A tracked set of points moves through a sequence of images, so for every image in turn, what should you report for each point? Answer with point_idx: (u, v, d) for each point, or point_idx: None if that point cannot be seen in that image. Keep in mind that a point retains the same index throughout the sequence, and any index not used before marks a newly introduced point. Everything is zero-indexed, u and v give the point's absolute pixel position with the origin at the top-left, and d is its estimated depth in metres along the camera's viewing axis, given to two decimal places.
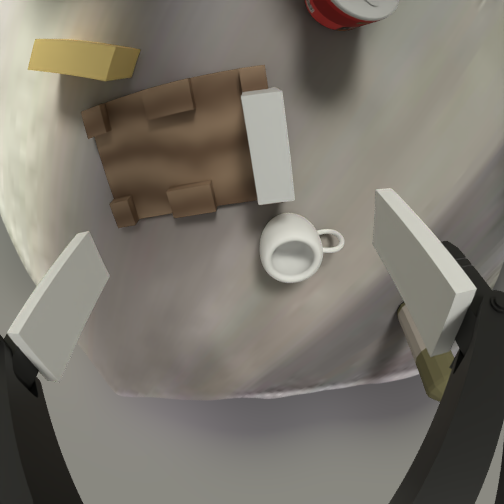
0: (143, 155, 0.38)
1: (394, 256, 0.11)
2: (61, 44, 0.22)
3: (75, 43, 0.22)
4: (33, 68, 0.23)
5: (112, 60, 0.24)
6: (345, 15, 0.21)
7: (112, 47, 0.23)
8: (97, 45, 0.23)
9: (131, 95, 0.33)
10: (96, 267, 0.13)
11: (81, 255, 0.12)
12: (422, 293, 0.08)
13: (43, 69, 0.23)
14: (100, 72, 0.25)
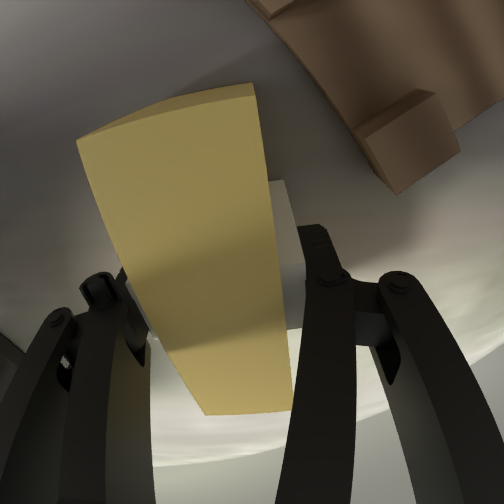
0: None
1: None
2: (183, 359, 0.10)
3: (154, 317, 0.09)
4: (286, 401, 0.11)
5: (140, 117, 0.06)
6: None
7: (84, 154, 0.06)
8: (111, 228, 0.07)
9: (302, 54, 0.10)
10: None
11: None
12: None
13: (285, 379, 0.10)
14: (217, 146, 0.06)
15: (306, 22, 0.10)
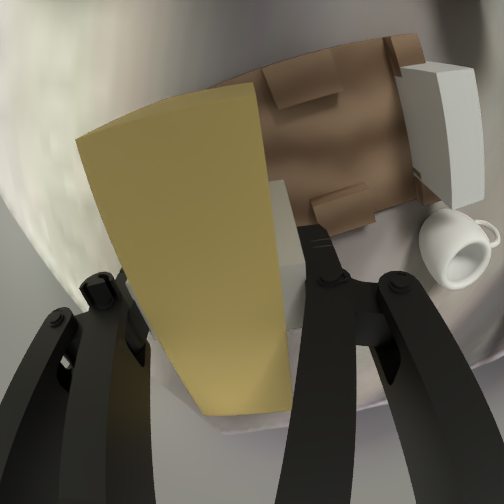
0: (269, 161, 0.28)
1: None
2: (182, 359, 0.10)
3: (153, 317, 0.08)
4: (285, 401, 0.11)
5: (140, 117, 0.06)
6: None
7: (83, 153, 0.06)
8: (110, 227, 0.07)
9: (240, 77, 0.24)
10: None
11: None
12: None
13: (284, 380, 0.10)
14: (217, 146, 0.06)
15: (256, 83, 0.24)
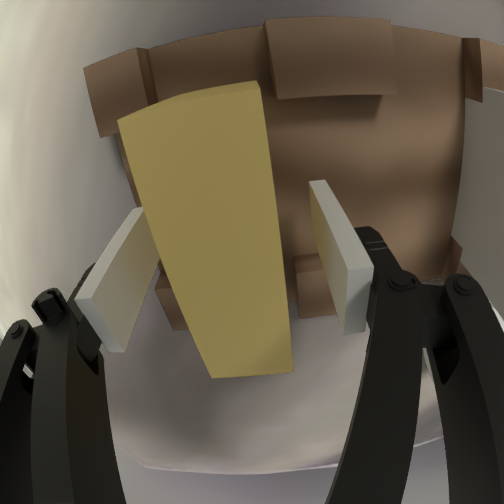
0: None
1: (321, 242, 0.12)
2: (195, 314, 0.11)
3: (172, 273, 0.10)
4: (286, 361, 0.13)
5: (171, 104, 0.07)
6: None
7: (124, 131, 0.07)
8: (142, 192, 0.09)
9: (224, 34, 0.12)
10: (152, 241, 0.14)
11: (141, 228, 0.13)
12: (334, 274, 0.10)
13: (285, 336, 0.12)
14: (231, 126, 0.08)
15: (248, 49, 0.13)
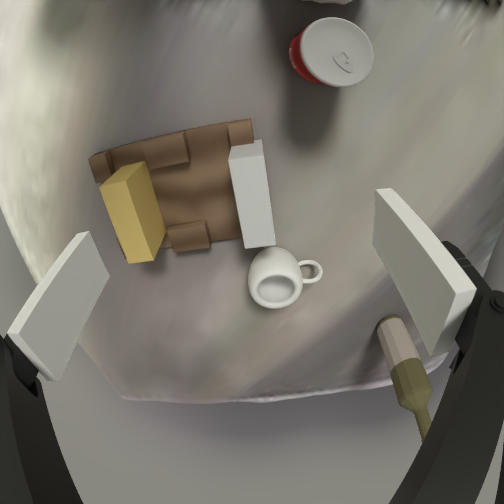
0: None
1: (394, 256, 0.11)
2: (120, 236, 0.38)
3: (113, 223, 0.37)
4: (149, 254, 0.40)
5: (110, 183, 0.34)
6: (321, 82, 0.27)
7: (100, 189, 0.35)
8: (105, 203, 0.36)
9: (133, 145, 0.39)
10: (96, 267, 0.13)
11: (81, 256, 0.12)
12: (422, 293, 0.08)
13: (145, 244, 0.39)
14: (121, 188, 0.35)
15: (141, 149, 0.40)
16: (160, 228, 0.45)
